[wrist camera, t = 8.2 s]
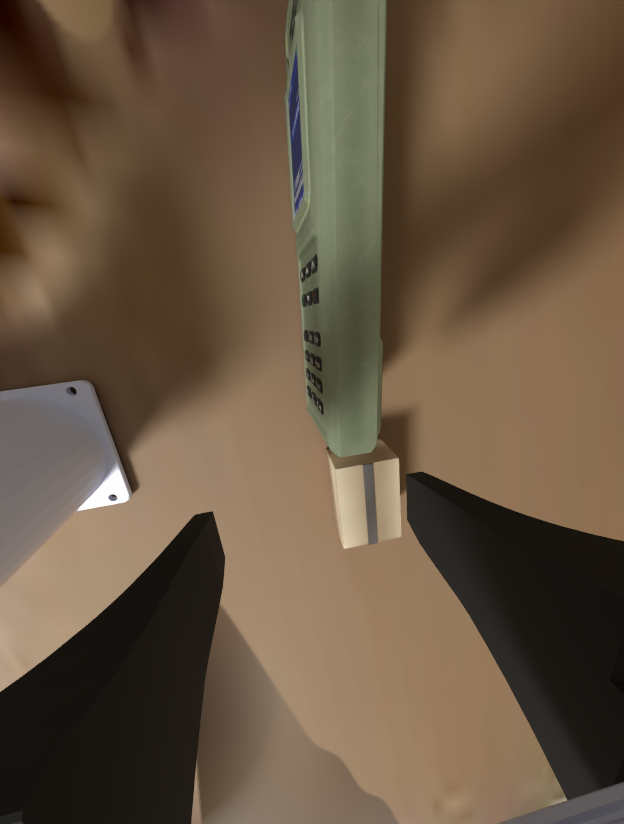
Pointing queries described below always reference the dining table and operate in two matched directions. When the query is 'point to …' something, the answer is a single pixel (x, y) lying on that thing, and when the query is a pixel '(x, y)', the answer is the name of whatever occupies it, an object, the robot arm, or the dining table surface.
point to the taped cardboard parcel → (365, 495)
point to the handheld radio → (338, 208)
